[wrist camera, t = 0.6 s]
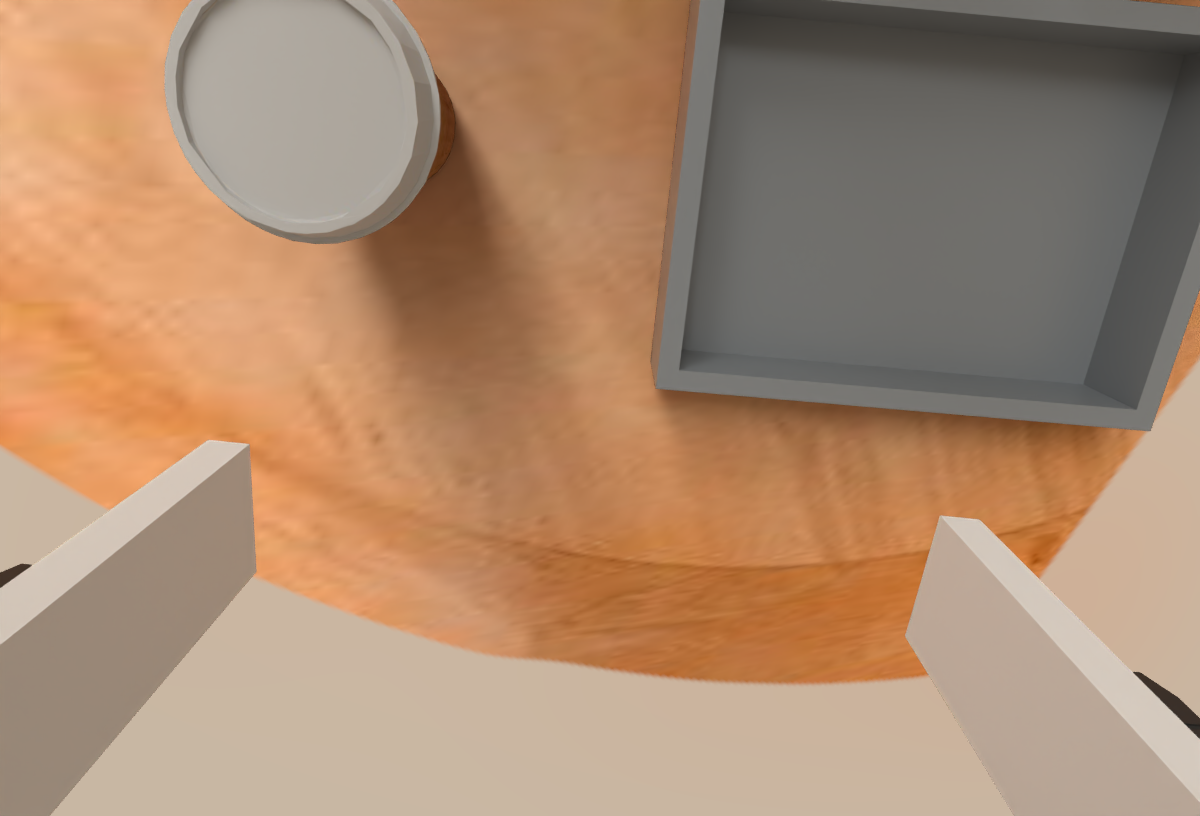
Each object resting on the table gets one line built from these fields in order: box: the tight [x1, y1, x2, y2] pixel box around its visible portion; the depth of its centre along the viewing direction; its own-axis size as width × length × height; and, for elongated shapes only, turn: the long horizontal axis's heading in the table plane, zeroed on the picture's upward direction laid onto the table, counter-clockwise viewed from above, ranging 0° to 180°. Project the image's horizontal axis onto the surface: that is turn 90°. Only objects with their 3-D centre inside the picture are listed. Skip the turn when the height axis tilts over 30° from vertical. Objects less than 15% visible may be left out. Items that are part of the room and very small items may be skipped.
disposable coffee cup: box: [165, 0, 455, 244], centre depth 31 cm, size 10×10×12 cm
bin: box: [650, 0, 1200, 431], centre depth 35 cm, size 18×24×5 cm
